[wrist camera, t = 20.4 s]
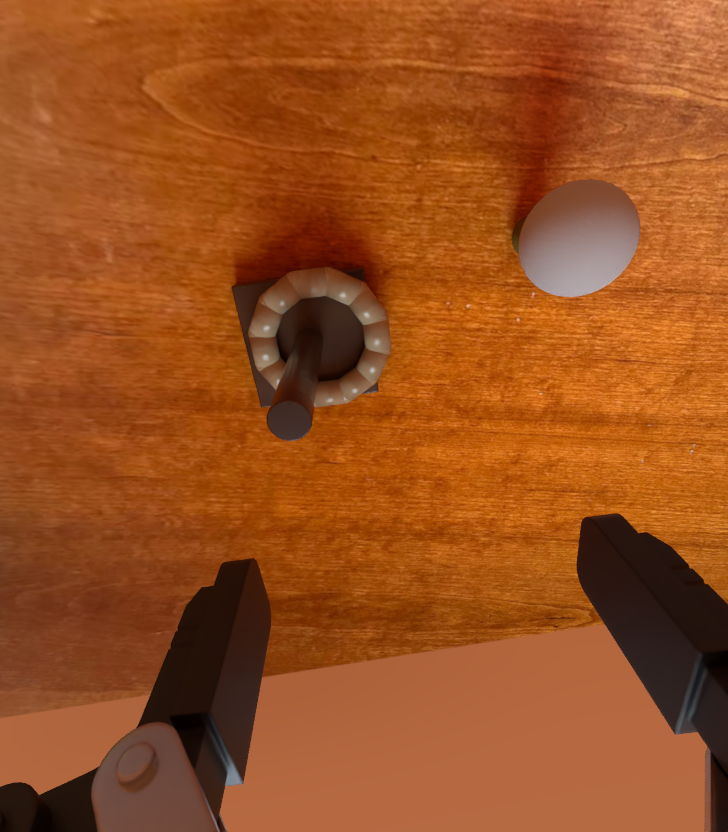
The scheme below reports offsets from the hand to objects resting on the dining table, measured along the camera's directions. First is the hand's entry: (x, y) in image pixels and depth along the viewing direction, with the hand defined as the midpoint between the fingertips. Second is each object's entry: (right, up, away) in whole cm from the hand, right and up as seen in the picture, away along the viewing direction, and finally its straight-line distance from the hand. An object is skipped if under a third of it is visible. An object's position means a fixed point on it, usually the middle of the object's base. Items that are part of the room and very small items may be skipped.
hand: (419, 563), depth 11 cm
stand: (-5, +9, +22) cm, 24 cm away
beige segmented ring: (-4, +9, +19) cm, 22 cm away
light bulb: (+10, +16, +19) cm, 27 cm away
